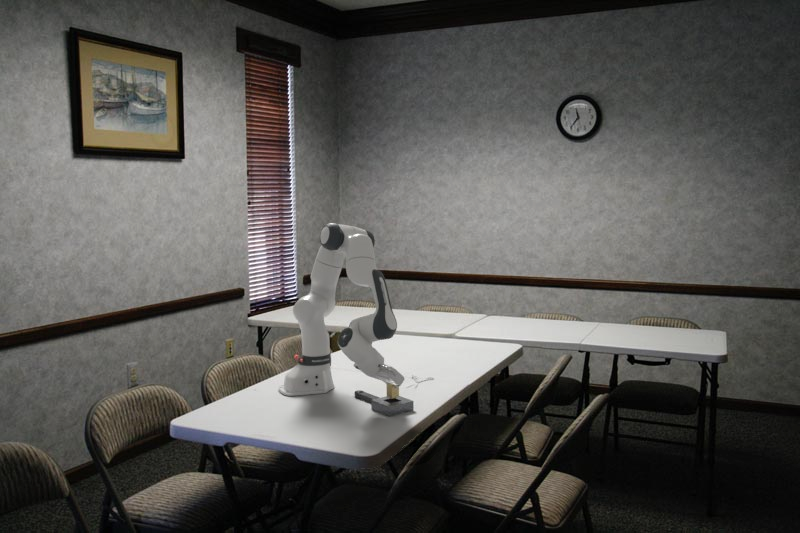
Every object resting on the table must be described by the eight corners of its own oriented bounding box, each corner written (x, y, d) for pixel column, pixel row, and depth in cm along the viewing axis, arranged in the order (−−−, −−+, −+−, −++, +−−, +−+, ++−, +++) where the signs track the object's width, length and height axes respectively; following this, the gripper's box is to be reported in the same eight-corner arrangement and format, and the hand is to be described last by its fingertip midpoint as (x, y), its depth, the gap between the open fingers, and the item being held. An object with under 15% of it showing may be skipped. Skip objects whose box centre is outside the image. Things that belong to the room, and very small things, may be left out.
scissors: (435, 376, 298) (422, 388, 279) (435, 378, 298) (422, 390, 280) (411, 375, 302) (397, 386, 283) (412, 376, 302) (397, 388, 283)
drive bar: (392, 398, 251) (391, 377, 250) (386, 396, 254) (386, 375, 253) (399, 397, 253) (398, 375, 252) (393, 395, 256) (393, 374, 255)
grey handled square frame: (389, 416, 246) (389, 406, 246) (344, 398, 269) (344, 389, 269) (413, 410, 253) (413, 400, 252) (368, 393, 276) (368, 384, 275)
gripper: (394, 360, 239) (416, 383, 246) (360, 351, 255) (382, 372, 262) (384, 375, 237) (407, 398, 244) (350, 365, 253) (373, 386, 260)
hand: (394, 385), depth 253 cm, fingers closed on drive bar, 3 cm apart
